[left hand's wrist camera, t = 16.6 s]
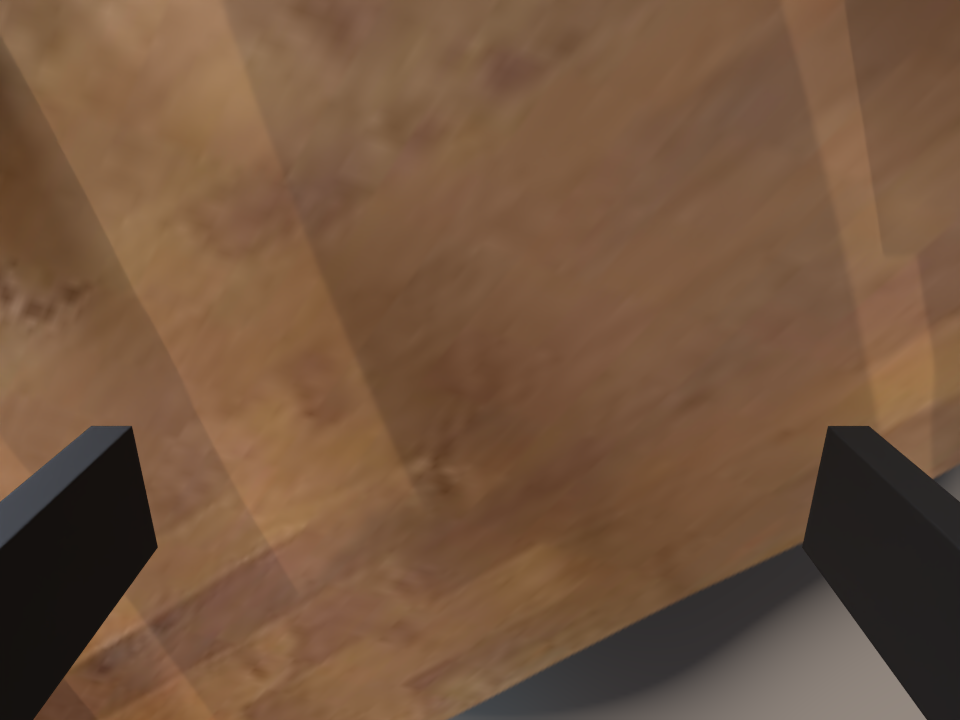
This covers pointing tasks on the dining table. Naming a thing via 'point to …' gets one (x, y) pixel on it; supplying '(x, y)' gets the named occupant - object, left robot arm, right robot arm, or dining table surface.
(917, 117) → the dining table surface
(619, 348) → the dining table surface
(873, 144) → the dining table surface
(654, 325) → the dining table surface
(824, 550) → the left robot arm
